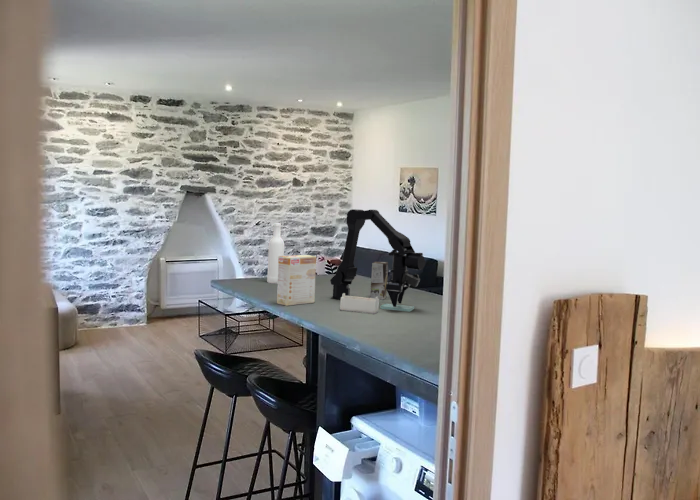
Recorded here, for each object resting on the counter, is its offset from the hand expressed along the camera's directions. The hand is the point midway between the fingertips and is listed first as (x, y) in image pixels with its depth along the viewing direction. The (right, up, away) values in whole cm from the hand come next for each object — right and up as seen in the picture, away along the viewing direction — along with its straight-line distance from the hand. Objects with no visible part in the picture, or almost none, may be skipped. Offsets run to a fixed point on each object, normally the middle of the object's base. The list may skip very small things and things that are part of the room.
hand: (397, 305), depth 252 cm
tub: (-16, -1, -10) cm, 18 cm away
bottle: (-57, +6, +57) cm, 81 cm away
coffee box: (-7, +1, +25) cm, 26 cm away
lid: (0, -2, 0) cm, 2 cm away
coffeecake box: (-42, +1, +1) cm, 42 cm away
